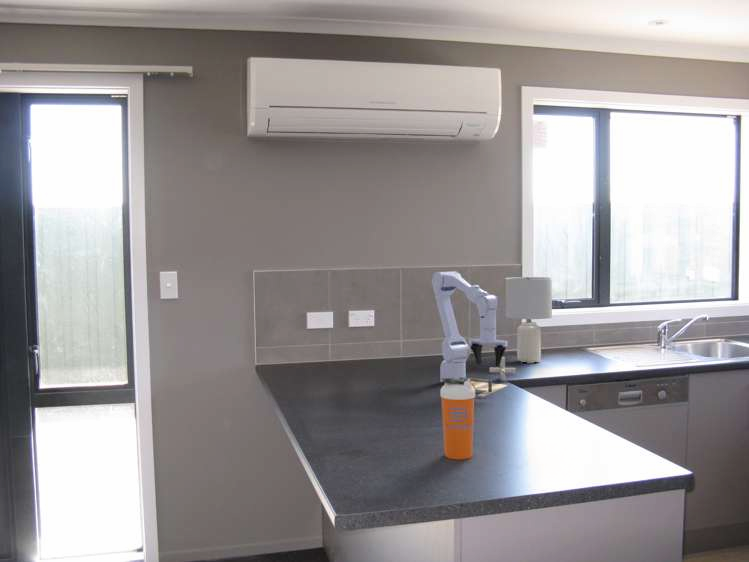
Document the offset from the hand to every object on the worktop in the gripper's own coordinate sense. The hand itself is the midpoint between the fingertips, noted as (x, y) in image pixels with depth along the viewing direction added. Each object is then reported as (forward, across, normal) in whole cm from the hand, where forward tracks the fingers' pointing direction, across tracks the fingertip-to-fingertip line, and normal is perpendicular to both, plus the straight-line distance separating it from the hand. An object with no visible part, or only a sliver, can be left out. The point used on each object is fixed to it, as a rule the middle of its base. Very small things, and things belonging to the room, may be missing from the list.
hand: (488, 365), depth 258 cm
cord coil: (+10, -3, -10) cm, 14 cm away
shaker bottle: (+10, +27, -74) cm, 80 cm away
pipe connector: (+10, -2, +17) cm, 20 cm away
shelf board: (+10, -3, -1) cm, 10 cm away
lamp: (+10, -12, +67) cm, 69 cm away
